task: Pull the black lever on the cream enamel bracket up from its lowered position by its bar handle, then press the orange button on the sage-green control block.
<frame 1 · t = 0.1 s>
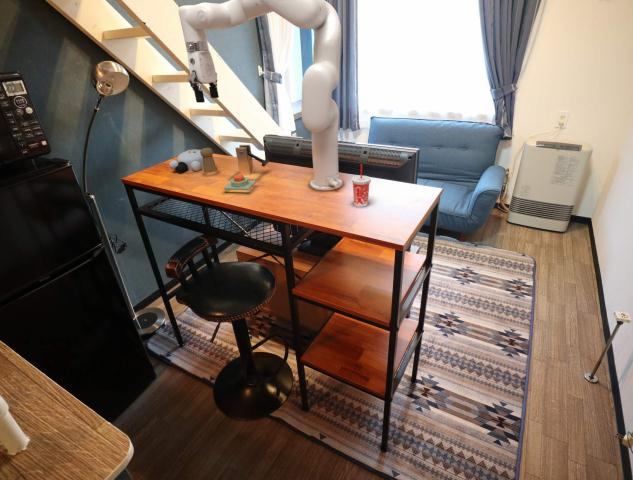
hand: (208, 100, 129), 31 cm above the table, tool pointing down, fingers open, 9 cm apart
figurine: (193, 169, 158), on the table
beverage cup: (360, 204, 116), on the table
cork: (211, 173, 152), on the table
bracket: (247, 176, 146), on the table
button block: (240, 189, 133), on the table
button: (239, 178, 131), point 4 cm above the table, slide at 0.1 cm
lever: (253, 156, 141), point 9 cm above the table, hinge at -30.0°
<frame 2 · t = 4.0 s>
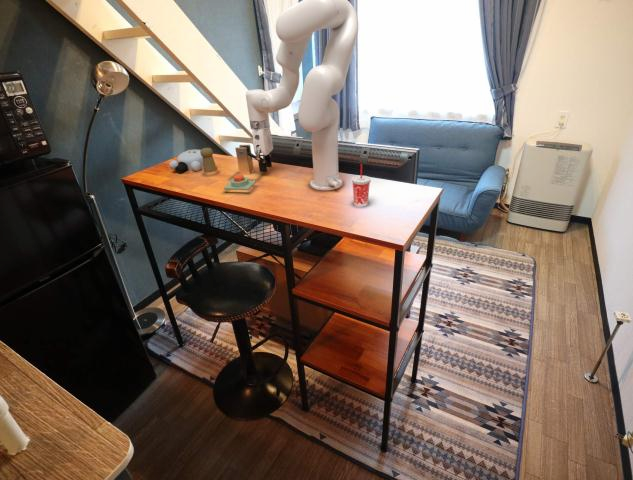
hand: (265, 168, 142), 3 cm above the table, tool pointing down, fingers closed on lever, 5 cm apart
lever: (253, 156, 141), point 9 cm above the table, hinge at -30.0°, touching gripper
everything else where it was.
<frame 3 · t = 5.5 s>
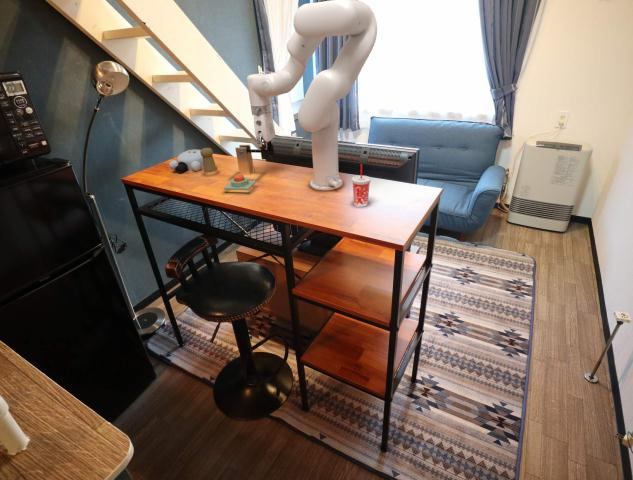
hand: (268, 156, 139), 9 cm above the table, tool pointing down, fingers closed on lever, 5 cm apart
lever: (254, 150, 139), point 11 cm above the table, hinge at -0.7°, touching gripper
everything else where it was.
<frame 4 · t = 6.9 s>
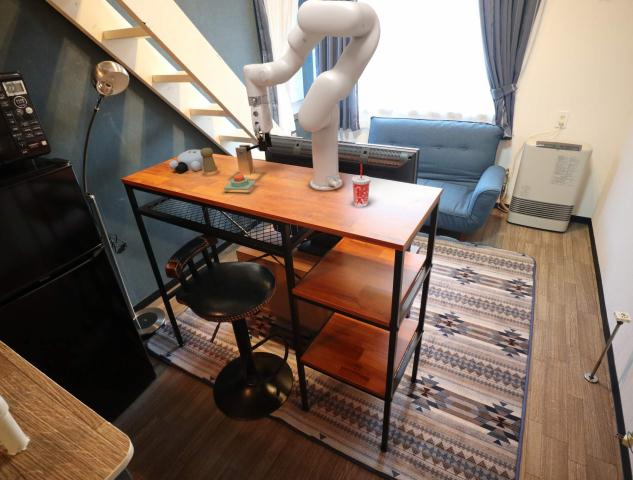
hand: (265, 148, 138), 12 cm above the table, tool pointing down, fingers closed on lever, 5 cm apart
lever: (253, 147, 139), point 12 cm above the table, hinge at 17.0°, touching gripper
everything else where it was.
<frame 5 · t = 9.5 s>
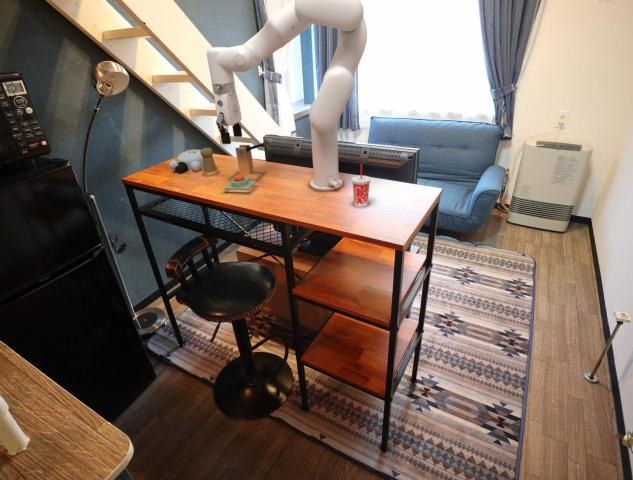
hand: (232, 140, 124), 19 cm above the table, tool pointing down, fingers open, 9 cm apart
lever: (253, 147, 139), point 12 cm above the table, hinge at 16.9°
everything else where it was.
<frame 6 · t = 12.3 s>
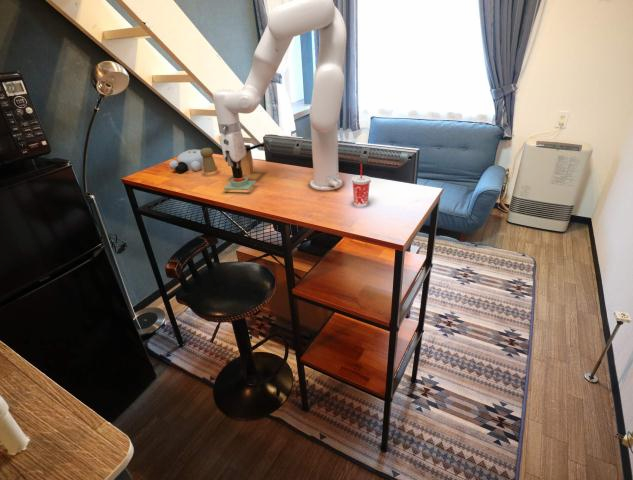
hand: (238, 177, 131), 5 cm above the table, tool pointing down, fingers closed
button: (239, 179, 131), point 4 cm above the table, slide at -0.3 cm, touching gripper
everything else where it was.
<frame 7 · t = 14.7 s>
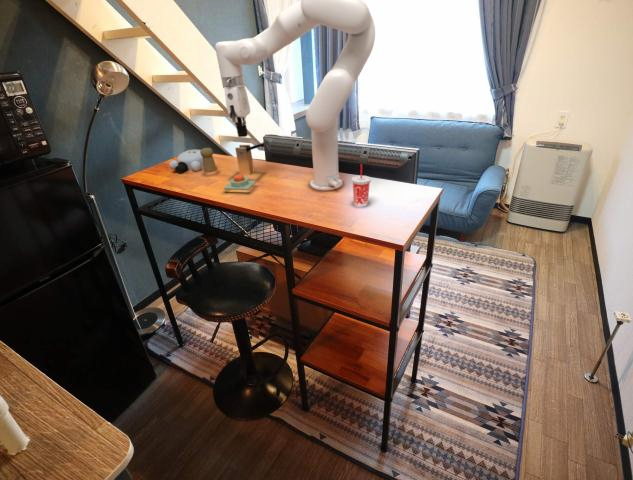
hand: (243, 136, 127), 19 cm above the table, tool pointing down, fingers closed
button: (239, 178, 131), point 4 cm above the table, slide at 0.1 cm
everything else where it was.
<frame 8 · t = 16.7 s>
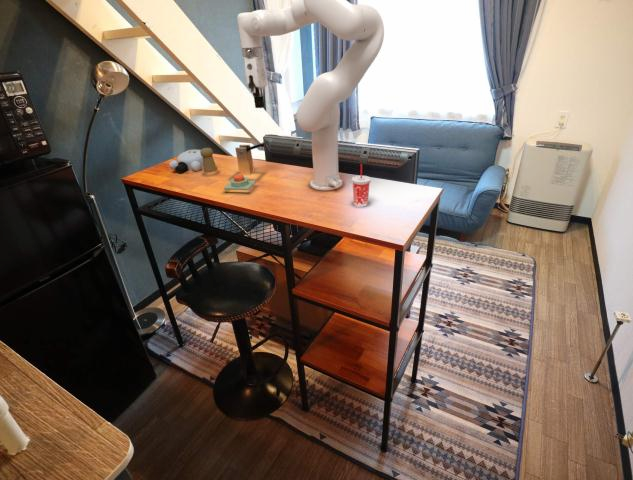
hand: (259, 107, 133), 27 cm above the table, tool pointing down, fingers closed
nothing on the table moved.
at the end: lever at +17° (first picture: -30°); button pushed in 1.1 cm at the most during the clip, back to where it started at the end; button slide at 0.1 cm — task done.
